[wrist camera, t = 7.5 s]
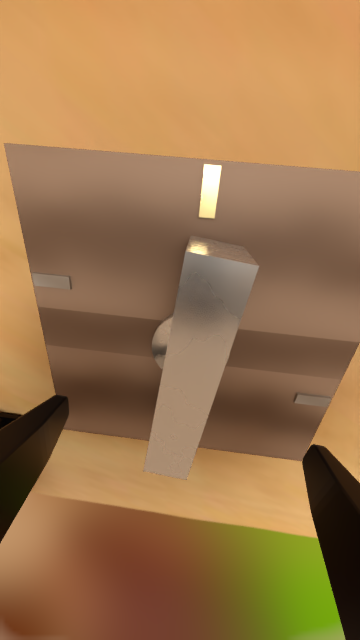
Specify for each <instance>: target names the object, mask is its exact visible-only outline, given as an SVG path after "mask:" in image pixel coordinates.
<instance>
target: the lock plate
mask: <svg viewBox="0 0 360 640" xmlns="http://www.w3.org/2000/svg"><path fill="white" fill-rule="evenodd" d="M4 146H5V151H6V156H7V161H8V166H9V170H10V175H11V180H12V185H13V190H14V195H15V199H16V204H17V209H18V214H19V219H20V224H21V228H22V233H23V238H24V243H25V248H26V253H27V257H28V262H29V267H30V272H31V277H32V282H33V286H34V291H35V296H36V301H37V306H38V311H39V315H40V320H41V325H42V330H43V335H44V339H45V344H46V349H47V354H48V359H49V364H50V368H51V373H52V378H53V383H54V388H55V393H56V395H63V396H67V397H68V400H69V416H68V419H67V421H66V423H65V425H64V428H63V429H65V430H73V431H80V432H88V433H95V434H103V435H110V436H118V437H125V438H133V439H140V440H147V441H149V439H150V434H151V429H152V424H153V419H154V413H155V408H156V403H157V398H158V392H159V387H160V382H161V377H162V372H163V370H162V369H161V368H160V367H159V365H158V364H157V363H156V361H155V359H154V357H153V353H152V340H153V336H154V334H155V331H156V329H157V327H158V325H159V324H160V323H161V322H162V321H163V320H164V319H165V318H166V317H168V316H169V315H171V314H173V313H174V309H175V304H176V298H177V293H178V288H179V283H180V277H181V272H182V267H183V262H184V257H185V251H186V248H187V246H188V243H189V240H190V237H191V236H195V237H200V238H205V239H210V240H215V241H220V242H224V243H229V244H234V245H239V246H244V248H245V249H246V250H247V251H248V253H249V254H250V255H251V257H252V258H253V259H254V260H255V262H256V263H257V264H258V265H259V268H258V271H257V274H256V277H255V280H254V283H253V286H252V289H251V292H250V295H249V298H248V300H247V303H246V306H245V309H244V312H243V315H242V318H241V321H240V324H239V327H238V330H237V333H236V336H235V339H234V342H233V345H232V348H231V351H230V355H229V359H228V361H227V363H226V365H225V368H224V371H223V374H222V377H221V380H220V383H219V386H218V389H217V392H216V395H215V398H214V401H213V404H212V406H211V409H210V412H209V415H208V418H207V421H206V424H205V427H204V430H203V433H202V436H201V439H200V442H199V445H198V447H200V448H207V449H215V450H222V451H230V452H237V453H245V454H252V455H259V456H267V457H274V458H282V459H289V460H297V461H302V459H303V457H304V455H305V453H306V451H307V449H308V447H309V445H310V443H311V441H312V439H313V437H314V435H315V433H316V431H317V429H318V427H319V425H320V423H321V420H322V418H323V416H324V414H325V412H326V410H327V408H328V406H329V404H330V402H331V400H332V398H333V396H334V394H335V392H336V390H337V388H338V386H339V384H340V382H341V380H342V378H343V376H344V374H345V372H346V370H347V368H348V365H349V363H350V361H351V359H352V357H353V355H354V353H355V351H356V349H357V347H358V345H359V343H360V172H357V171H344V170H332V169H320V168H307V167H295V166H282V165H270V164H258V163H245V162H233V161H220V160H208V159H196V158H183V157H171V156H159V155H146V154H134V153H121V152H109V151H97V150H84V149H72V148H59V147H47V146H35V145H22V144H10V143H4Z"/></svg>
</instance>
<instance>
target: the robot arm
mask: <svg viewBox="0 0 360 640" xmlns="http://www.w3.org/2000/svg"><path fill="white" fill-rule="evenodd" d="M68 416H69V400H68V397H67V396H63V395H55V396H53V397H51V398H50V399H48V400H46V401H45V402H43V403H42V404H40V405H38V406H37V407H35V408H34V409H32V410H30V411H29V412H27V413H26V414H24V415H22V416H19V415H13V414H5V413H0V543H1V541H2V539H3V537H4V536H5V534H6V532H7V530H8V529H9V527H10V525H11V524H12V522H13V520H14V518H15V517H16V515H17V513H18V512H19V510H20V508H21V507H22V505H23V503H24V501H25V500H26V498H27V496H28V494H29V493H30V491H31V489H32V488H33V486H34V484H35V483H36V481H37V479H38V477H39V476H40V474H41V472H42V471H43V469H44V467H45V465H46V464H47V462H48V460H49V458H50V456H51V454H52V452H53V449H54V447H55V445H56V443H57V441H58V438H59V436H60V434H61V432H62V430H63V428H64V425H65V423H66V421H67V419H68ZM302 464H303V470H304V476H305V481H306V487H307V493H308V498H309V504H310V509H311V513H312V517H313V521H314V525H315V529H316V532H317V536H318V540H319V543H320V547H321V550H322V554H323V558H324V562H325V565H326V569H327V572H328V576H329V580H330V584H331V587H332V591H333V595H334V598H335V602H336V605H337V609H338V613H339V617H340V620H341V624H342V627H343V631H344V635H345V639H346V640H360V483H359V482H358V481H357V480H356V479H355V478H354V477H353V476H352V475H351V473H350V472H349V471H348V470H347V469H346V468H345V467H344V466H343V465H342V464H341V463H340V462H339V461H338V460H337V459H336V458H335V457H334V456H333V455H332V454H331V452H330V451H329V450H328V449H327V448H325V447H324V446H320V445H315V444H313V445H311V446H310V448H309V449H308V451H307V452H306V454H305V456H304V457H303V461H302Z"/></svg>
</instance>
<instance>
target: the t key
mask: <svg viewBox="0 0 360 640" xmlns="http://www.w3.org/2000/svg"><path fill="white" fill-rule="evenodd" d="M258 268H259V265H258V264H257V263H256V262H255V260H254V259H253V258H252V257H251V255H250V254H249V253H248V251H247V250H246V249H245V248H244V246H239V245H234V244H229V243H224V242H220V241H215V240H210V239H205V238H200V237H195V236H191V237H190V240H189V243H188V246H187V248H186V251H185V257H184V262H183V267H182V272H181V277H180V283H179V288H178V293H177V298H176V304H175V309H174V313H173V314H171V315H169V316H168V317H166V318H165V319H164V320H163V321H162V322H161V323H160V324H159V325H158V327H157V329H156V331H155V334H154V336H153V340H152V353H153V357H154V359H155V361H156V363H157V364H158V365H159V367H160V368H161V369H162V370H163V372H162V377H161V382H160V387H159V392H158V398H157V403H156V408H155V413H154V419H153V424H152V429H151V434H150V439H149V445H148V450H147V455H146V460H145V466H144V471H145V472H150V473H155V474H160V475H165V476H169V477H174V478H179V479H184V480H187V477H188V474H189V471H190V468H191V465H192V462H193V459H194V457H195V454H196V451H197V448H198V445H199V442H200V439H201V436H202V433H203V430H204V427H205V424H206V421H207V418H208V415H209V412H210V409H211V406H212V404H213V401H214V398H215V395H216V392H217V389H218V386H219V383H220V380H221V377H222V374H223V371H224V368H225V365H226V363H227V361H228V359H229V355H230V351H231V348H232V345H233V342H234V339H235V336H236V333H237V330H238V327H239V324H240V321H241V318H242V315H243V312H244V309H245V306H246V303H247V300H248V298H249V295H250V292H251V289H252V286H253V283H254V280H255V277H256V274H257V271H258Z"/></svg>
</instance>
